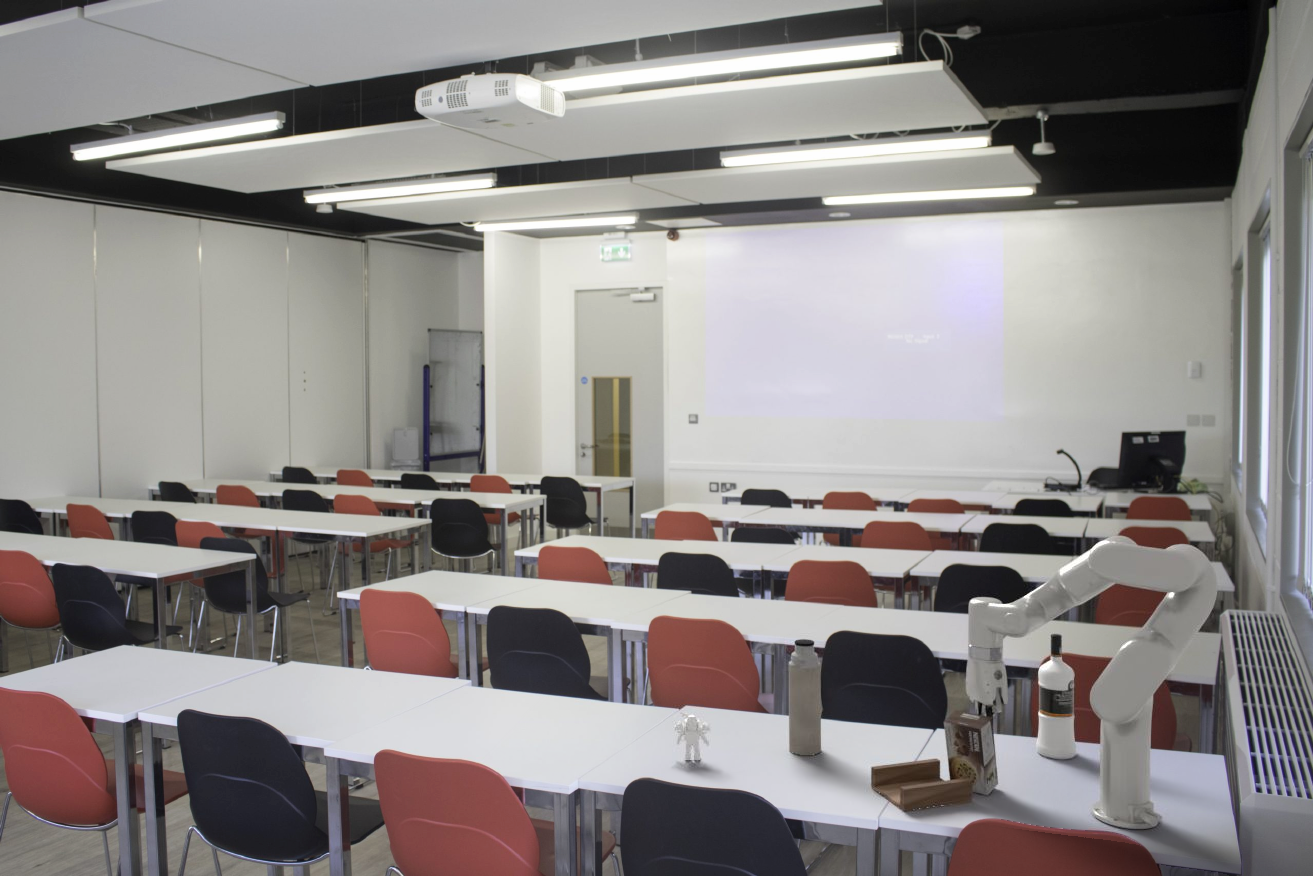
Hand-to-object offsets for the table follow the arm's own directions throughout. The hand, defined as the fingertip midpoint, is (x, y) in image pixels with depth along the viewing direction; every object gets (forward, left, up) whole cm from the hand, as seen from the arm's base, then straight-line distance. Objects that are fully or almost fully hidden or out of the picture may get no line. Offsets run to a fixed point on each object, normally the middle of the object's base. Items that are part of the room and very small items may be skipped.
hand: (984, 732), depth 223 cm
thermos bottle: (+34, +29, -13) cm, 46 cm away
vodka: (+12, -29, -13) cm, 34 cm away
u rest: (0, +17, -12) cm, 21 cm away
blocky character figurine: (+37, +58, -13) cm, 70 cm away
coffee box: (0, +3, -12) cm, 12 cm away
